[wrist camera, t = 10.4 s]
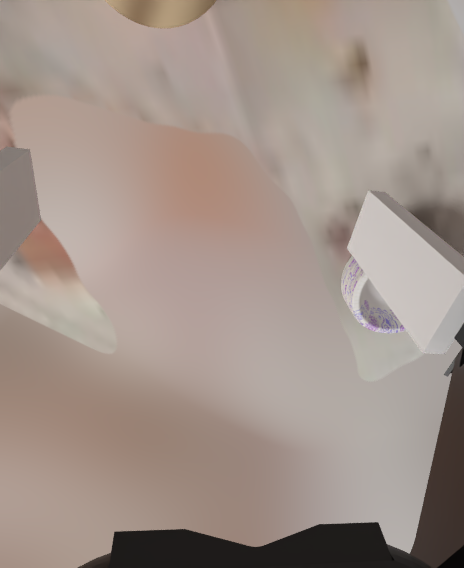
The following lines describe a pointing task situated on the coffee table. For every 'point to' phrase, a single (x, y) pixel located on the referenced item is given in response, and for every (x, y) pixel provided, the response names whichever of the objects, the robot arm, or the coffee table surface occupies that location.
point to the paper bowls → (367, 301)
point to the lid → (161, 11)
